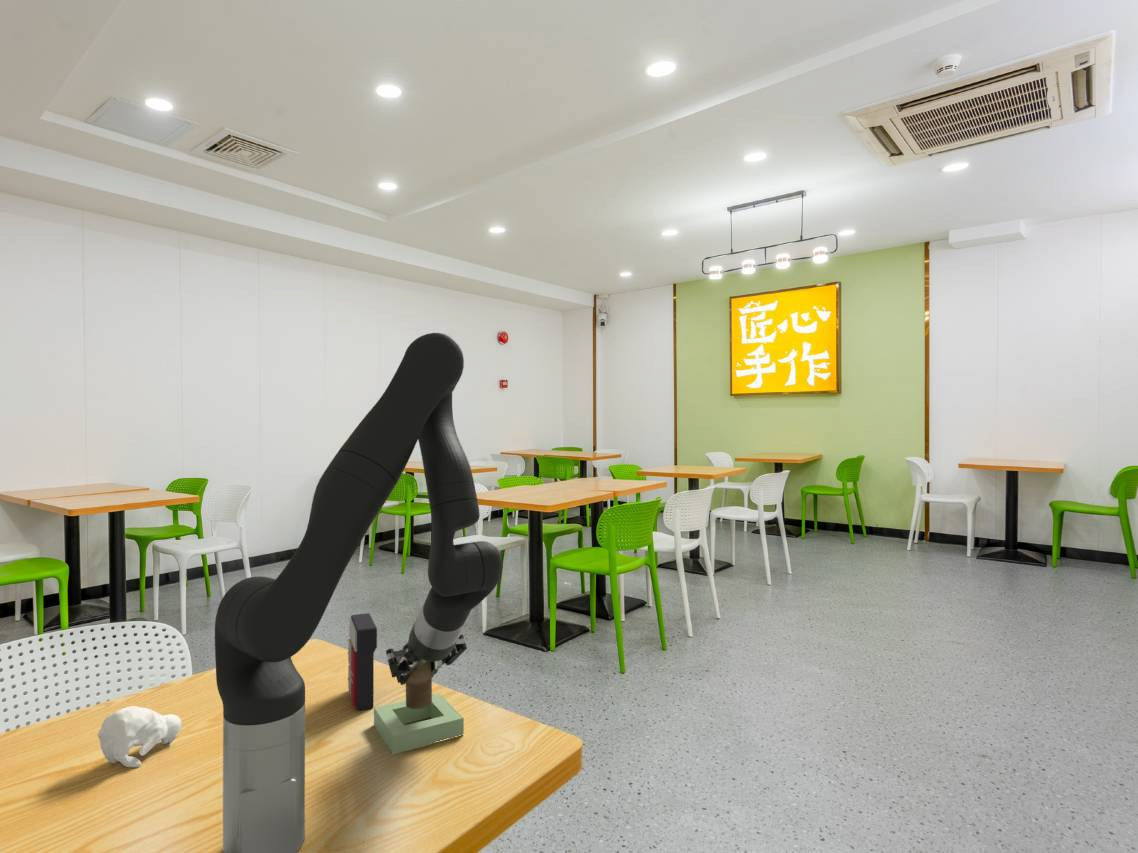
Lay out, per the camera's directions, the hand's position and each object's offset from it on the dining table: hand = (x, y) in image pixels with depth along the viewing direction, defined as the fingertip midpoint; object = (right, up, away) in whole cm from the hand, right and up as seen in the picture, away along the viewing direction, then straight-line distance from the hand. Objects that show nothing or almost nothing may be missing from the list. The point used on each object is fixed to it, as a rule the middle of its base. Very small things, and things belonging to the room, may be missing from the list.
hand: (415, 676), depth 111 cm
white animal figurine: (-41, -9, -10) cm, 43 cm away
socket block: (+1, -9, -2) cm, 9 cm away
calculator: (-13, -9, +11) cm, 19 cm away
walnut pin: (+1, -4, -2) cm, 4 cm away
